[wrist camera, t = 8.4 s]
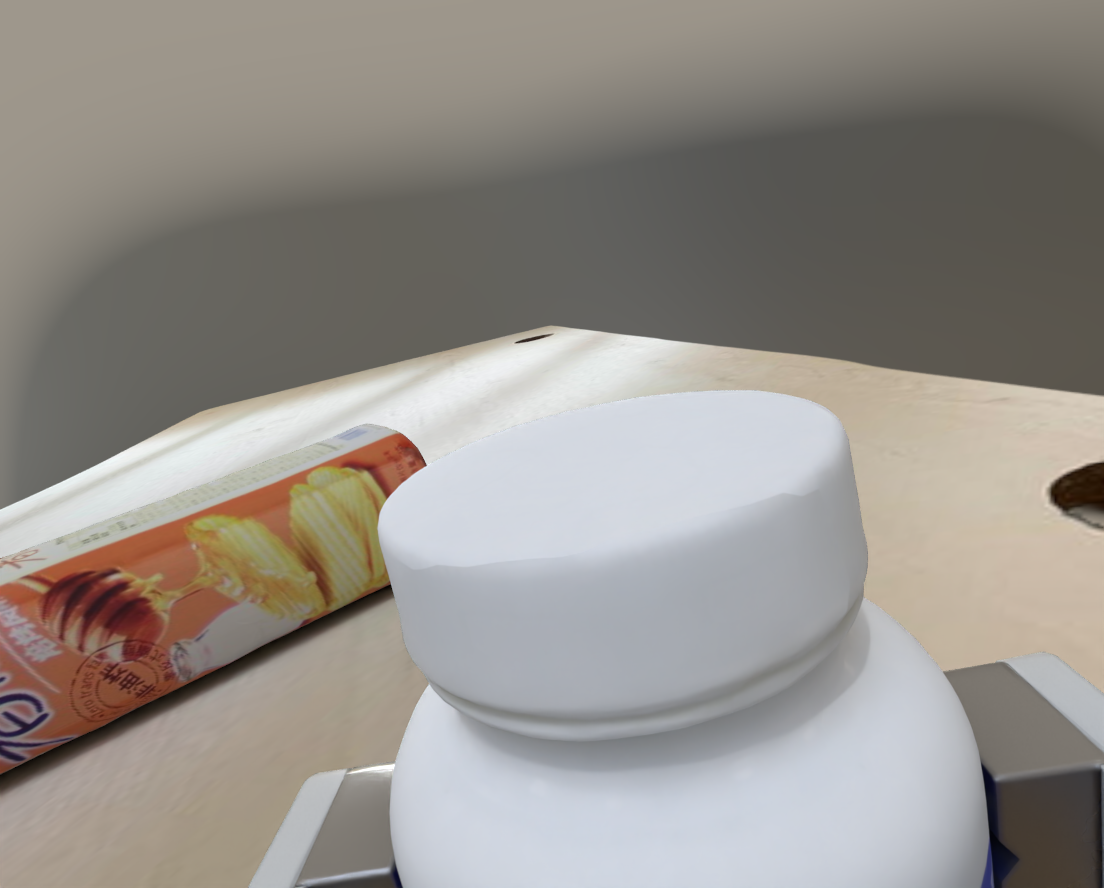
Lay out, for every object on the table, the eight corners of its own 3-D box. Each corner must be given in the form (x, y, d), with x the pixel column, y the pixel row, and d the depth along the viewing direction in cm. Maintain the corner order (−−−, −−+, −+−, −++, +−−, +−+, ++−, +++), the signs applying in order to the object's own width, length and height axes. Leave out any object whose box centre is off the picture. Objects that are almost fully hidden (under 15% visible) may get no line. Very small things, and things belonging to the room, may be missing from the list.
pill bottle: (784, 899, 12) (688, 357, 9) (1157, 1327, 7) (1163, 384, 4) (495, 1083, 10) (285, 478, 7) (702, 1848, 5) (273, 767, 2)
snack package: (-238, 930, 17) (-393, 704, 15) (-168, 799, 22) (-276, 622, 20) (466, 569, 28) (424, 420, 27) (402, 540, 34) (363, 415, 32)
